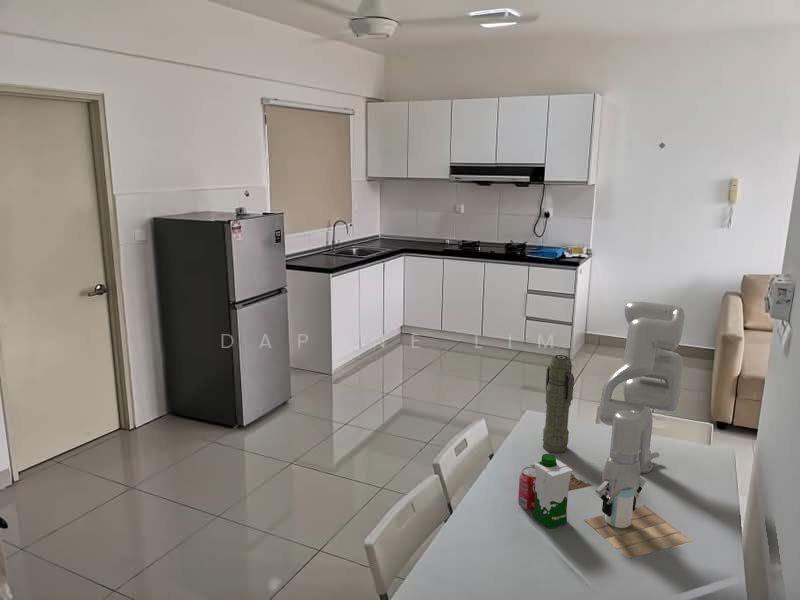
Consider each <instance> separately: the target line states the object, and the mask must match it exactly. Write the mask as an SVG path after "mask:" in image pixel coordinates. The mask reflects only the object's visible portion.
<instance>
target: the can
mask: <svg viewBox="0 0 800 600" xmlns="http://www.w3.org/2000/svg"><path fill="white" fill-rule="evenodd" d="M632 489H633V488H631V489H629V490H621V492H620V493H619V494H618V495H617V496H614V498H613V500H612V501H611V504H612V513H611V516H610V517H608V516H607V515H606V514H605V513H604V515H605V520H606V521H607V523H609V524H610V525H611V526H613V527H616V528H626V527H628V526H630V524H631V518H632V509H633V501H634V491H633V490H632ZM609 496H610V494H609V493H608V495H607V498H608V497H609Z"/></svg>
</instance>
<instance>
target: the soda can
mask: <svg viewBox="0 0 800 600" xmlns="http://www.w3.org/2000/svg"><path fill="white" fill-rule="evenodd" d="M535 487H536V474H535V467H532V466H526V467H523V469H522V471H521V472H520V474H519V482H518V495H517V496H518V498H517V499H518V505H519V506H520V507H521V508H522V509H524V510H527V511H534V502H535Z"/></svg>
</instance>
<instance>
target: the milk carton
mask: <svg viewBox="0 0 800 600" xmlns="http://www.w3.org/2000/svg"><path fill="white" fill-rule="evenodd" d="M533 465H535V474H536V487H535V502H534V510H532V511H533V512H532V517H533V518H534V519H535V520H536V521H538V523H540V524H541V525H543V526H544V527H545V528H546V529H548V530H549V529H550V530H551V529H554V528H557V527H560V526H562V525H566V524H567V523H568V512H567V511H568V510H567V509H568V497H569V496H568V495H569V491H568V487H569V482H570V478H571V475H572V474H573V472H574V470H573V469H572V468H570V467H569V466H568V465H567V464H565V463H563V462H562V461H560V460H558V459H557V457H556V455H554V454H553V453H544V454H542V455H541V460H540V461H539V462H536V463H534V464H533Z"/></svg>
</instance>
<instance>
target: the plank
mask: <svg viewBox="0 0 800 600" xmlns="http://www.w3.org/2000/svg"><path fill="white" fill-rule="evenodd" d="M583 521H584V522H585V523H586V524H587V525H588V526H590V527H591V528H592V529H593V530H594V531H596V533H598V534H599V535H600V536H601V537H602V538H604V539H607V538H611V537H615V536H619V535H623V534H626V533H630V532H634V531H638V530H642V529H646V528H649V527H653V526H657V525H661V524H665V523H667V521H666V520H665V519H664V518H662V517H661V516H659V515H658V514H657V513H656V512H654V511H653V510H651V508H649V507H648V506H646V505H645V504H644V505H640V506H635V510H634V511H632V518H631V524H630V526H628V527H626V528H616V527H613V526H611V525H610V524H609V523H607V521H606V520H605V514H603V515H602V514H601V515H598V516H594V517H590V518H587V519H584V520H583Z"/></svg>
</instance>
